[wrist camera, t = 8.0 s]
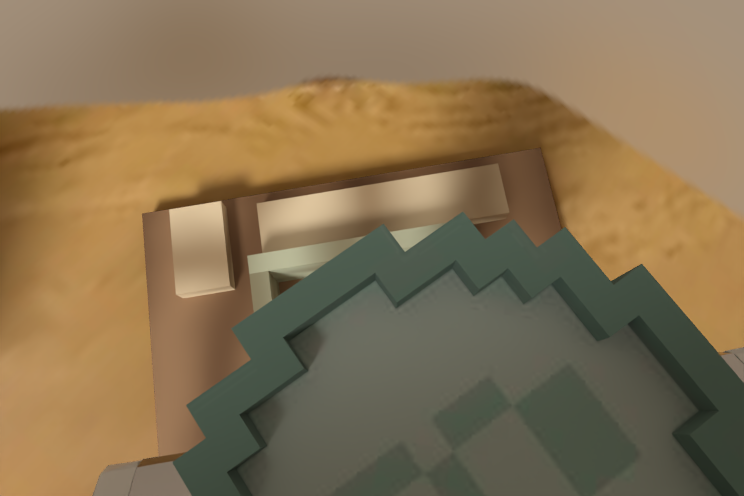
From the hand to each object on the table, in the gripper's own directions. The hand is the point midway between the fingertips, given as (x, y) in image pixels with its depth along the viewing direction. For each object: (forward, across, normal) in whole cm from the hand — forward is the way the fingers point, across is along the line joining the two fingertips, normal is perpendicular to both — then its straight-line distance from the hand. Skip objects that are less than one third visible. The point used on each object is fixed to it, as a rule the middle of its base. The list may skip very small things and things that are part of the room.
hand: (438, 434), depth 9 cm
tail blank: (+25, +10, +9) cm, 29 cm away
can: (+8, 0, +9) cm, 12 cm away
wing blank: (+25, -1, +9) cm, 27 cm away
